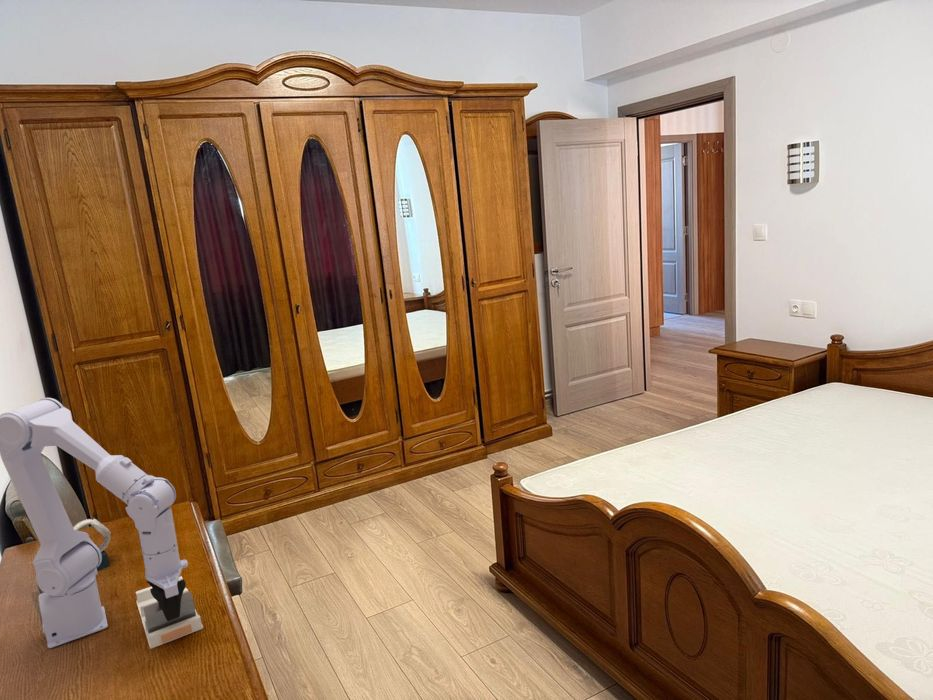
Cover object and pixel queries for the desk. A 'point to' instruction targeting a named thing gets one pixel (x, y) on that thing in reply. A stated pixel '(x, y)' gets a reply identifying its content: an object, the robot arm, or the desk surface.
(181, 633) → the rack
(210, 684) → the desk surface
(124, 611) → the desk surface
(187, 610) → the panel
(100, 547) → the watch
